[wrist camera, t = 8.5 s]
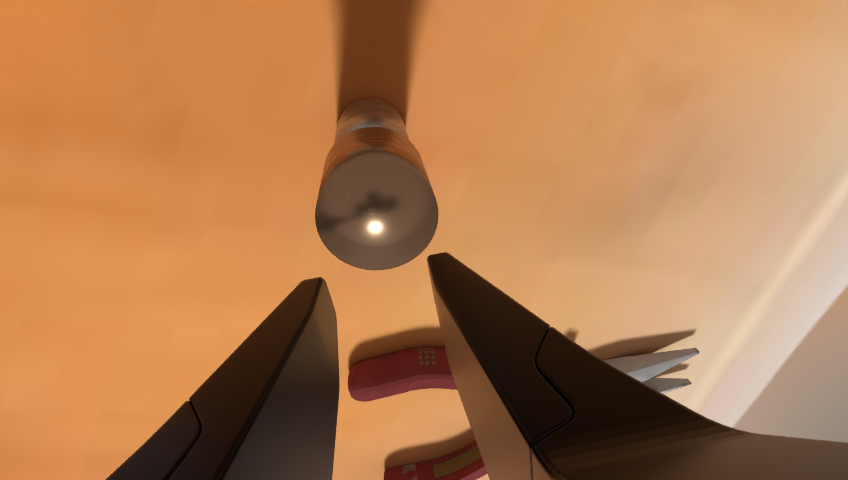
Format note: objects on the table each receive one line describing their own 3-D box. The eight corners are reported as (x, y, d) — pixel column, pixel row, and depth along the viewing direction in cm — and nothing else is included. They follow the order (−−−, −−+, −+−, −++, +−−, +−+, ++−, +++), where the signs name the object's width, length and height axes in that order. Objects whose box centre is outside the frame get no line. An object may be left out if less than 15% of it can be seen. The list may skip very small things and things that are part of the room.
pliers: (671, 411, 31) (695, 445, 29) (386, 474, 31) (388, 512, 29) (693, 278, 26) (725, 306, 23) (343, 352, 25) (341, 388, 23)
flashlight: (415, 161, 20) (445, 257, 13) (342, 175, 20) (333, 280, 13) (402, 85, 18) (428, 149, 11) (322, 100, 18) (299, 174, 11)
